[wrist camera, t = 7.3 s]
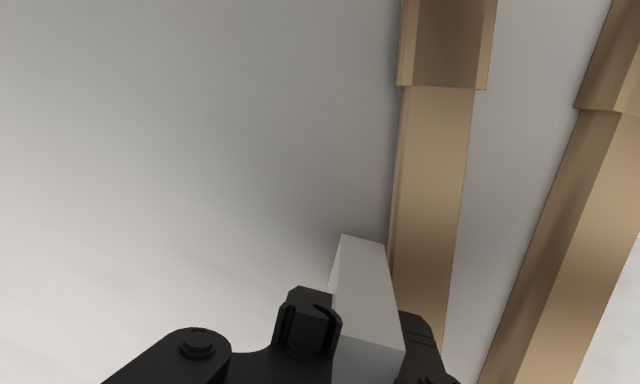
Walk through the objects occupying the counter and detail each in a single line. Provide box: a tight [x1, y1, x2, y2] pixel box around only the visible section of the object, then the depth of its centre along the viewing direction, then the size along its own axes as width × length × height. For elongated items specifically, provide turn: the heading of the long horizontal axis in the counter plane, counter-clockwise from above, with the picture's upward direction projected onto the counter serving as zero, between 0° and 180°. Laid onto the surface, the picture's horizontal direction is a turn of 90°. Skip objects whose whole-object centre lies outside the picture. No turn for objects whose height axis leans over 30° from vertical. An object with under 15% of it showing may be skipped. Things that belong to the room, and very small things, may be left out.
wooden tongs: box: [477, 0, 640, 384], centre depth 16 cm, size 25×4×3 cm, turn 166°
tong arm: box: [387, 0, 498, 356], centre depth 15 cm, size 21×2×2 cm, turn 177°
